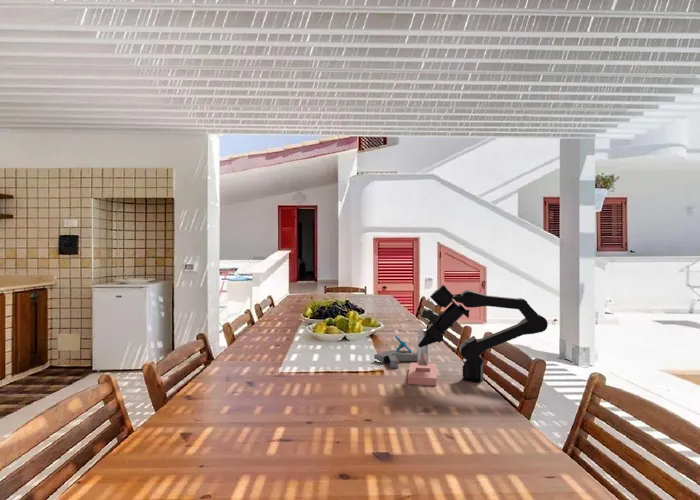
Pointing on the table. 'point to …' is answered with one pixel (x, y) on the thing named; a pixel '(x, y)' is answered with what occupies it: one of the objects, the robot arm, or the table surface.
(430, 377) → the beam plate
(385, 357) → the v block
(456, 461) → the table surface
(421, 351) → the axle
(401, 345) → the gear
